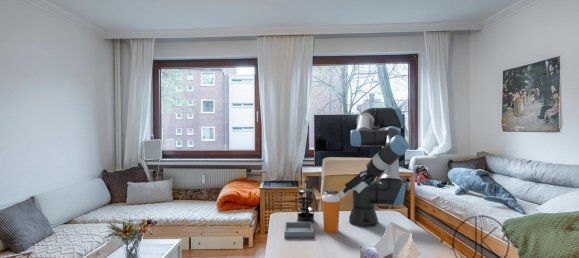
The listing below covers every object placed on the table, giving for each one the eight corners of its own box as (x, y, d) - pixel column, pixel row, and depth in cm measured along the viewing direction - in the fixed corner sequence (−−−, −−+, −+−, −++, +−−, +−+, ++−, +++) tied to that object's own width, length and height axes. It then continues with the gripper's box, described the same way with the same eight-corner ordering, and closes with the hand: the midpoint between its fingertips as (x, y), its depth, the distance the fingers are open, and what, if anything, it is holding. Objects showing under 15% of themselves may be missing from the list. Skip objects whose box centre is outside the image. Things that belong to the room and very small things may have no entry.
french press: (316, 223, 159) (316, 180, 158) (298, 224, 157) (298, 181, 157) (311, 216, 170) (311, 176, 170) (295, 217, 169) (295, 177, 168)
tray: (311, 227, 153) (311, 221, 153) (313, 238, 139) (313, 231, 139) (285, 227, 153) (284, 221, 153) (284, 238, 139) (284, 231, 139)
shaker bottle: (339, 234, 143) (339, 193, 142) (321, 233, 145) (321, 192, 144) (340, 228, 152) (340, 189, 151) (322, 227, 153) (322, 188, 153)
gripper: (369, 175, 118) (338, 205, 129) (397, 168, 136) (368, 195, 147) (357, 160, 122) (328, 191, 133) (386, 155, 139) (358, 182, 151)
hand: (349, 193), depth 140 cm, fingers open, 13 cm apart
